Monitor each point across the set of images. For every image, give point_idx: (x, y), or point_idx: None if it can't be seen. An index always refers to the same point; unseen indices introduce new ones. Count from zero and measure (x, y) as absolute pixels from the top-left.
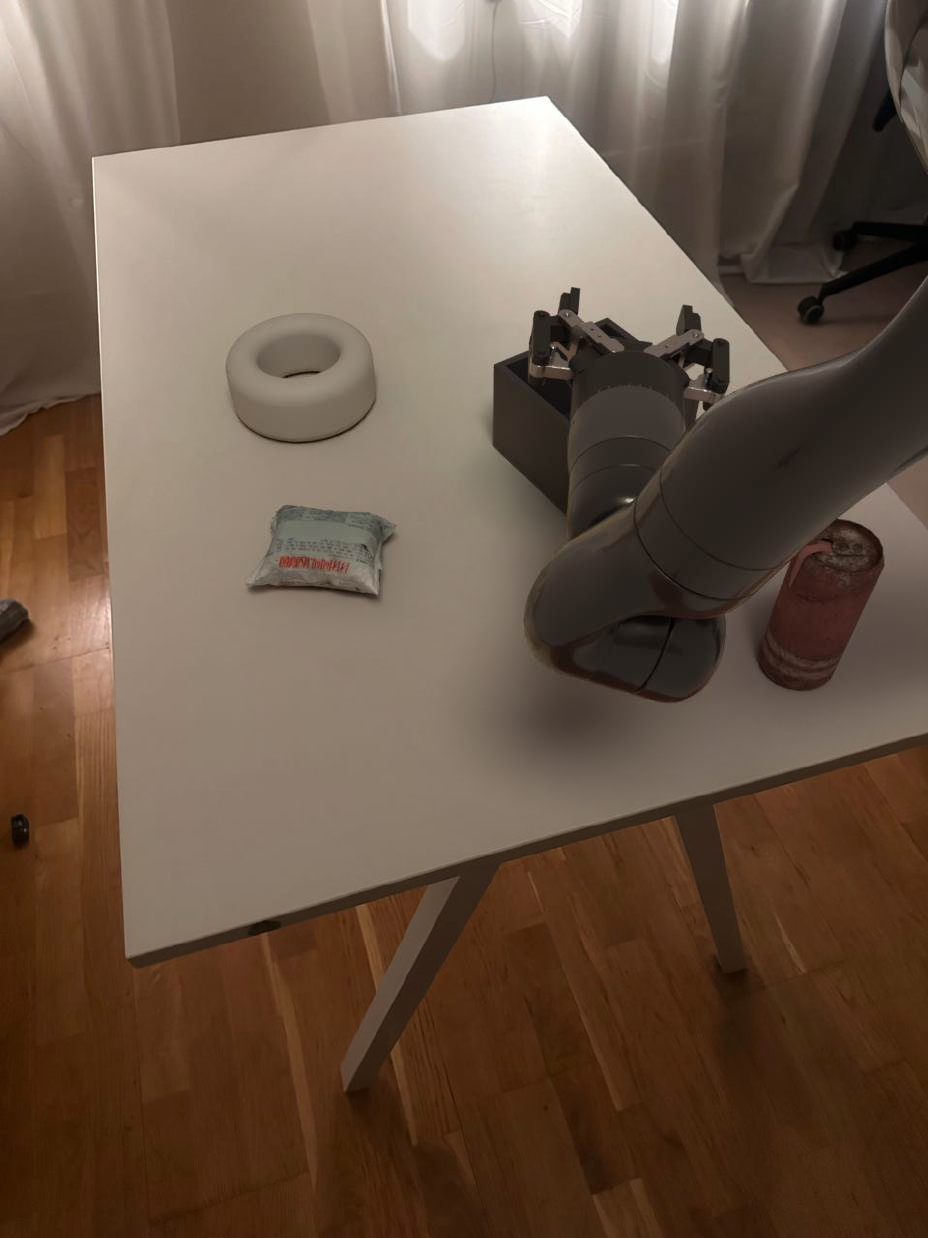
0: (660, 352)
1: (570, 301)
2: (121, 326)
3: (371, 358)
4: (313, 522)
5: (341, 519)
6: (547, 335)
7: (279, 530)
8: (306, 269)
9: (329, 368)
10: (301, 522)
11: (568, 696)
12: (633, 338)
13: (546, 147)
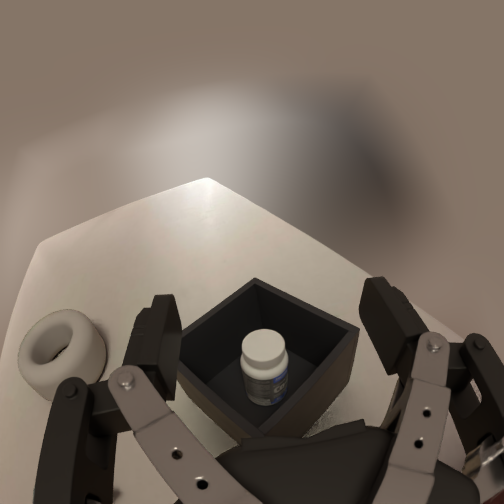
0: (420, 494)
1: (144, 335)
2: (12, 322)
3: (90, 340)
4: None
5: None
6: (66, 471)
7: (33, 498)
8: (90, 274)
9: (60, 355)
10: None
11: None
12: (281, 292)
13: (211, 191)
